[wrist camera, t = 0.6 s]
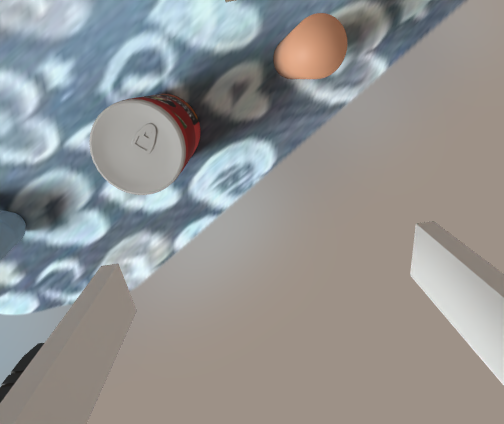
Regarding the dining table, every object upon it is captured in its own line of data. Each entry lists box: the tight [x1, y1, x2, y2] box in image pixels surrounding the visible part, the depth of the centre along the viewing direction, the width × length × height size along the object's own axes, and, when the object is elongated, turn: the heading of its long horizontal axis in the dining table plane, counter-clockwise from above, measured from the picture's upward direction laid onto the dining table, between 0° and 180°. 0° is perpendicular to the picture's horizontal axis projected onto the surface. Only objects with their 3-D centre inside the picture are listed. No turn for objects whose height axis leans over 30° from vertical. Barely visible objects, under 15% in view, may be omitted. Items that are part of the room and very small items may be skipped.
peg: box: [273, 13, 347, 79], centre depth 26 cm, size 4×4×12 cm
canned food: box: [90, 94, 200, 195], centre depth 29 cm, size 8×8×11 cm
